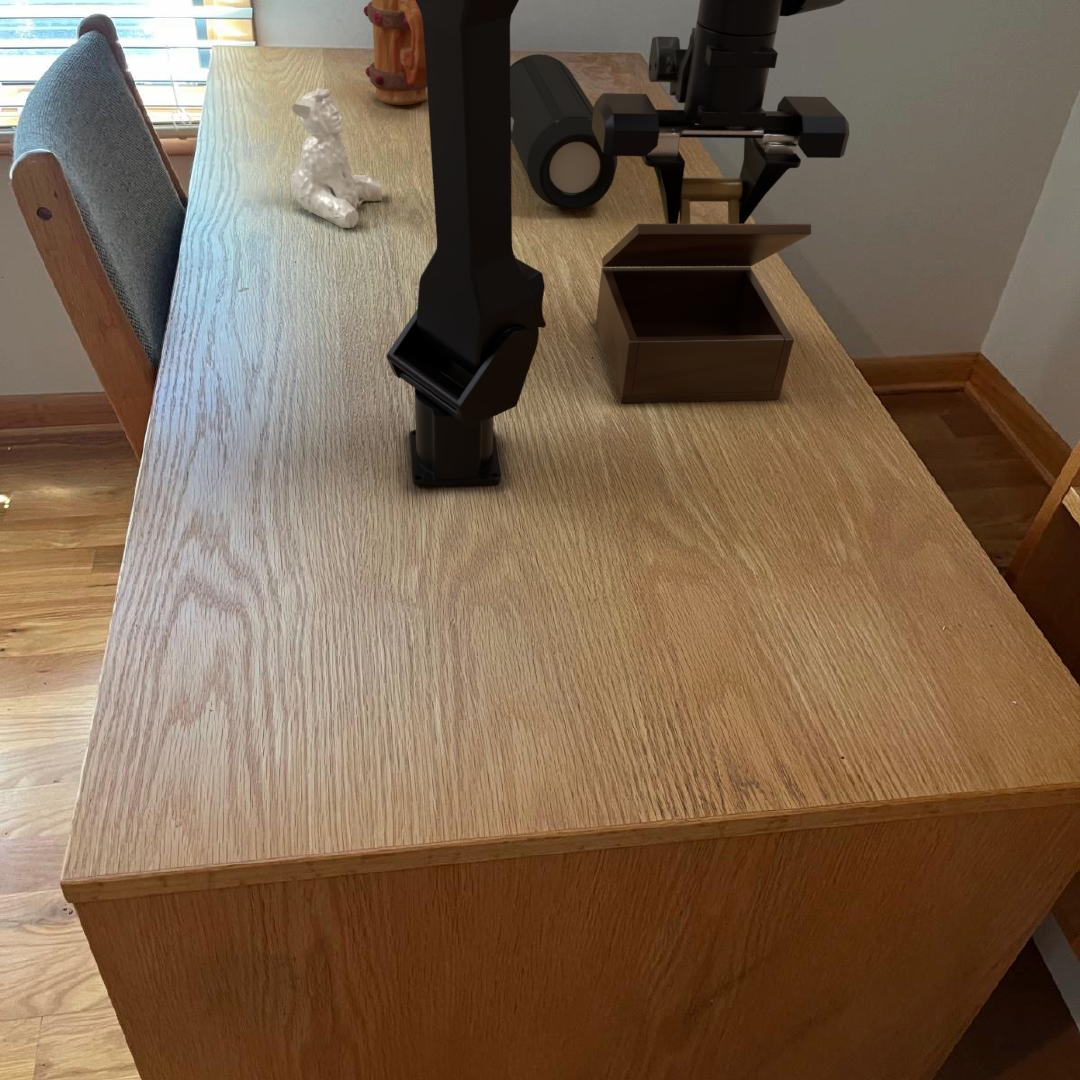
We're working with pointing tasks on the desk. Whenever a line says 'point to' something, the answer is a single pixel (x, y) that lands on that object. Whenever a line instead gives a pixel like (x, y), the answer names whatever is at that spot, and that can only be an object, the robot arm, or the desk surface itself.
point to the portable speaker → (557, 134)
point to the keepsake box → (691, 334)
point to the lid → (704, 234)
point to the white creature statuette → (328, 165)
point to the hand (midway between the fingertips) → (701, 232)
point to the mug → (397, 51)
